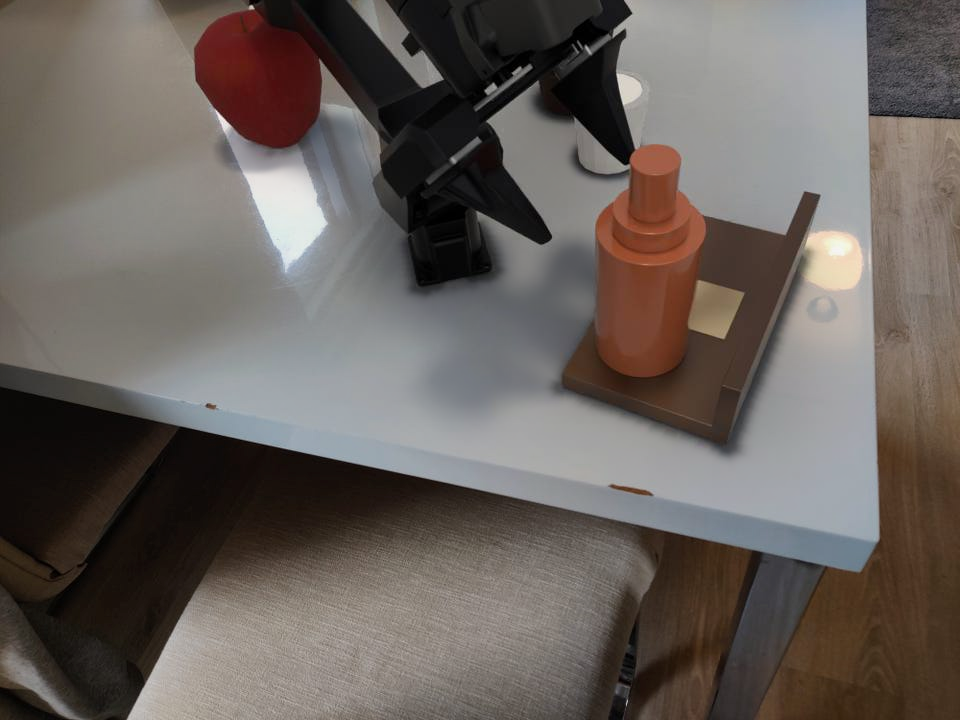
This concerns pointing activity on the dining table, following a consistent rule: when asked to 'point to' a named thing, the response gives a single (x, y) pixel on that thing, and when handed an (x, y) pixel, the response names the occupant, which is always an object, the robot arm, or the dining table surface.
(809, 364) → the dining table surface
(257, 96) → the apple
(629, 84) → the shot glass
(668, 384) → the walnut shelf
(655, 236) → the terracotta bottle
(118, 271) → the dining table surface
